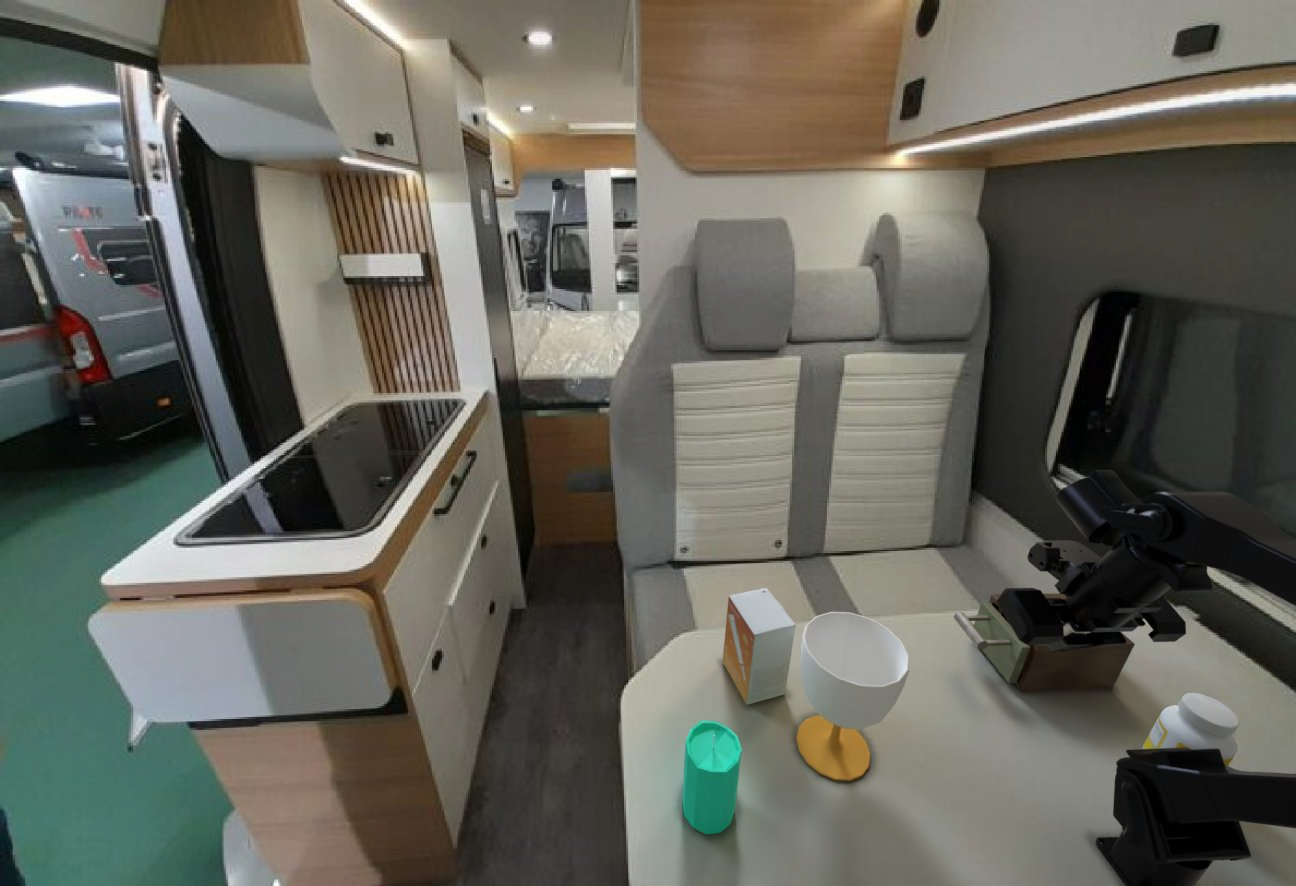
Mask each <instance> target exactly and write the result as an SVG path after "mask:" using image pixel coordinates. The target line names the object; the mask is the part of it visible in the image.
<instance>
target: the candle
mask: <svg viewBox="0 0 1296 886" xmlns="http://www.w3.org/2000/svg"><path fill="white" fill-rule="evenodd" d="M684 746H685V747H684V748H685V749H684V764H683V765H684V767H683V781H682V782H683V783H682V799H681V803H682V809H683V816H684V818H685V819H686V821H687V822H688V823H689V825H690V826H691V827H692V828H693V829H694V830H696V831H699V832H700V833H702V834H704V835H715V834H721V833H722V832H724V830H726V829H727V828H728V827H729V826H731V825H732V821H733V817H734V814H735V811H736V803H737V793H738V785H739V779H740V778H739V777H740V776H739V775H740V768H741V760H742V752H743V749H742V746H741V742H740V738H739V736H738V735H737V734H736V733H735V732H734V731H733V730H732V729H731V728H729V726H727V725H724V724H722V723H720V722H717V721H716V720H700V721H699V722H697V723H696V724H695V725H694V726H693V727H691V728H690V729H689V732H688V734H687V736H686V738H685V745H684Z"/></svg>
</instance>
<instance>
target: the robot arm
mask: <svg viewBox="0 0 1296 886" xmlns="http://www.w3.org/2000/svg"><path fill="white" fill-rule="evenodd" d="M1055 500H1056V503H1057V504H1058V506H1059V507H1060V508H1061V510H1063V512H1064V513H1065V515H1067V517H1068V518H1069V519H1070V520H1071V522H1072V524H1074V525H1075V526H1076V528H1077V530H1079V531H1080V533H1081V534H1082V535H1083V537H1084V538H1085V539H1086V540H1087V541H1088V542H1089V543H1092V544H1098V545H1099V544H1103V545H1104V546H1107V547H1111V548H1110V549H1109V550H1108V551H1107V552H1106V553H1105V554H1104V555H1103V556H1100V555H1098V554H1097V553H1096V552H1094V551H1093V550H1091V549H1090V548H1089V547H1087V546H1086V545H1084V544H1083V543H1081V542H1079V541H1076V540H1070V539H1064V540H1062V539H1061V540H1059V539H1058V540H1044V541H1037V542H1036V543H1035V544H1033V545H1032V546H1031V547H1030V548H1029V552H1028V554H1027V556H1026V559H1027V560H1028V562H1029V564H1031V565H1032V566H1033V567H1035V569H1037V570H1038V571H1039V572H1047V573H1048V574H1049V575H1051V576H1052V577H1053V578H1054V579H1056V580H1057V582H1056V583H1054V587H1055V589H1056V590H1057V591H1058V593H1060V594H1064V595H1065V596H1066V599H1061V598H1046V597H1045V596H1044V594H1045V593H1043V592H1042V590H1041V589H1038V588H1035V587H1010V588H1009V587H1007V588H1004V589H1003V591H1002V592H1000V595H999V597H998V599H997V603H998V605H999V606H1000V608H1001V610H1002V611H1003V613H1004V615H1005V617H1006V618H1007V620H1008V622H1009V623H1010V625H1011V627H1012V629H1013V630H1014V632H1015V634H1016V636H1017V637H1018V639H1019V640H1020V641H1021V642H1023V643H1025V644H1026V645H1041V644H1046V646H1047V647H1048V649H1049V651H1050V652H1062V651H1070V650H1078V649H1086V648H1095V647H1103V646H1112V645H1123V644H1125V643H1126V639H1125V637H1124V636H1123V635H1122V633H1125V632H1126V633H1127V632H1128V633H1129V632H1133V631H1135V630H1136V629H1138V627H1144V626H1146V623H1147V624H1148V625H1149V627H1150V628H1151V629H1152V630H1151V631H1150V632H1149V633H1147V635H1148V637H1149V638H1150V639H1151V641H1152V642H1153V643H1175V642H1177V641H1178V640H1179V639H1181V638H1182V637H1184V636H1185V635H1187V624H1186V623H1187V622H1186V621H1185V620H1184V619H1183V617H1182V615H1180V614H1179V612H1177V610H1176V609H1175V608H1174V606H1172V604H1171V603H1170V602H1169V601H1168V599H1167V598H1166V597H1165V596H1164V594H1165V593H1166V592H1168V591H1169V590H1171V589H1172V590H1173V592H1175V593H1191V592H1192V593H1197V592H1203V593H1204V592H1212V591H1213V590H1214V586H1213V581H1212V578H1211V577H1210V575H1209V574H1208V568H1213V569H1216V570H1220V571H1224V572H1227V573H1230V574H1232V575H1234V576H1238V577H1240V578H1243V579H1244V580H1246V581H1248V582H1249V583H1252V584H1253V585H1255V586H1257V587H1259V588H1260V589H1262V590H1264V591H1267V592H1268V593H1270V594H1272V595H1274V596H1276V597H1277V598H1279V599H1281V600H1283V601H1285V602H1287V603H1288V604H1291V605H1292V606H1294V607H1296V539H1295V538H1294V537H1292V535H1289V534H1288V533H1286V532H1284V531H1283V530H1282V529H1281V528H1280V527H1279V526H1278V525H1277V523H1276V522H1275V521H1274V520H1273V519H1272V518H1271V516H1270V515H1268V514H1267V513H1265V512H1264V511H1262V510H1260V509H1259V508H1257V507H1255V506H1253V505H1252V504H1250V503H1249V502H1247V501H1246V500H1243V499H1242V498H1240V497H1239V496H1237V495H1235V494H1233V493H1230V492H1226V491H1222V490H1191V491H1190V490H1189V491H1156V492H1154V493H1151V494H1149V495H1148V496H1147V497H1146V498H1144V499H1142V501H1141V500H1140V499H1139V498H1138V497H1137V496H1136V495H1134V493H1133V492H1132V491H1131V490H1130V489H1129V488H1128V487H1127V486H1126V485H1125V484H1124V483H1123V481H1122V479H1121V477H1119V475H1118V474H1117V473H1116V472H1115V471H1114V470H1113V469H1095V470H1094V471H1093V472H1091V474H1090V475H1089V476H1086V477H1083V478H1080V479H1077V480H1076V481H1073V482H1072V483H1070V484H1068V485H1067V486H1065V487H1062V488H1061V489H1060V490H1059V491H1058V493H1057V495H1056V498H1055ZM1144 620H1145V621H1144ZM1121 632H1122V633H1121ZM1125 753H1126V755H1128V756H1126V757H1125V756H1124V757H1121V758H1118V760H1116V761H1115V764H1116V769H1115V771H1116V772H1115V776H1114V789H1113V804H1112V805H1113V806H1112V808H1113V809H1112V810H1113V811H1112V816H1113V818H1114V819H1115V820H1116V821H1117V823H1118V824H1119V825H1120V826H1121V830H1122V831H1121V832H1120V834H1119V836H1105V837H1102V836H1101V837H1096V839H1095V841H1094V842H1095V844H1096V846H1097V847H1098V849H1099V851H1101V853H1102V855H1103V856H1104V857H1105V858H1106V860H1107V861H1108V862H1109V864H1110V865H1111V867H1112V868H1113V869H1114V871H1115V872H1116V873H1117V876H1119V878H1120V879H1121V880H1122V881H1123V883H1124V885H1125V886H1196V884H1197V883H1198V882H1199V881H1200V879H1201V878H1202V877H1203V876H1204V875H1205V873H1206V871H1207V870H1208V869H1209V867H1211V865H1212V864H1213V862H1214V861H1230V862H1237V861H1242V860H1246V859H1250V858H1251V857H1252V853H1251V850H1250V848H1249V845H1248V842H1247V840H1246V839H1247V838H1246V836H1245V834H1244V831H1243V827H1242V825H1241V823H1240V822H1243V823H1250V824H1258V825H1267V826H1273V827H1281V828H1289V829H1296V773H1286V772H1269V771H1249V770H1239V769H1235V768H1233V767H1232V766H1229V765H1228V766H1227V765H1225V764H1224V761H1223V758H1222V755H1221V752H1220V750H1219V748H1218V749H1190V748H1187V747H1184V748H1158V749H1142V748H1137V749H1126V750H1125Z"/></svg>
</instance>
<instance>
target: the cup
mask: <svg viewBox="0 0 1296 886" xmlns="http://www.w3.org/2000/svg"><path fill="white" fill-rule="evenodd" d="M799 658H800V660H799V661H800V662H799V665H800V666H799V669H800V678H801V682H802V686H803V690H804V694H805V697H806V699H807V700H808V701H809V703H810V704H811V705H812V707H813V708H814V709H815V711H816V712H817V714H818V715H814V716H811V717H809V718H806V719H804V721H803V722H802V723H801V724H800V725H799V726H798V729H797V732H796V733H797V734H796V739H795V740H796V743H797V746H798V752H799V753H800V755H801V756H802V758H803V760H804V761H805V763H806V764H807V765H808V766H809V767H811V768H812V769H813V770H814V771H815V772H817V773H818V774H819V775H821V776H824V777H826V778H828V779H831V780H834V781H842V782H852V781H855V780H856V779H858V778H861V777H863V776H864V774H865V773H866V771H867V770H868V769H869V768H870V762H871V752H870V749H869V746H868V743H867V741H866V739H865V738H864V737H863V736H862V734H861V733H860V732H859V731H861V730H863V729H866V728H869V727H872V726H874V725H877V724H880V723H881V722H882V721H883V720H884V719H885V718H886V716H887V715H888V714H889V713H890V711H891V710H892V709H893V708H894V707H895V705H896V703H897V702H898V699H899V697H900V695H901V693H902V691H903V690H904V687H905V685H906V681H907V678H908V675H909V672H910V655H909V653H908V652H907V649H906V648H905V646H904V643H903V641H901V639H900V638H898V636H897V635H895V634H894V633H893V632H892V631H891V630H890V629H889V628H888V627H887V626H885V625H882V624H881V623H879V622H877V621H876V620H874V619H872V618H870V617H868V616H864V615H861V614H857V613H853V612H848V611H830V612H826V613H823V614H819V615H816V616H815V617H813V618H812V619H811V620H810V621H809V622H808V623H806V624H805V626H804V630H803V634H802V637H801V646H800V657H799ZM858 730H859V731H858Z"/></svg>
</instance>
